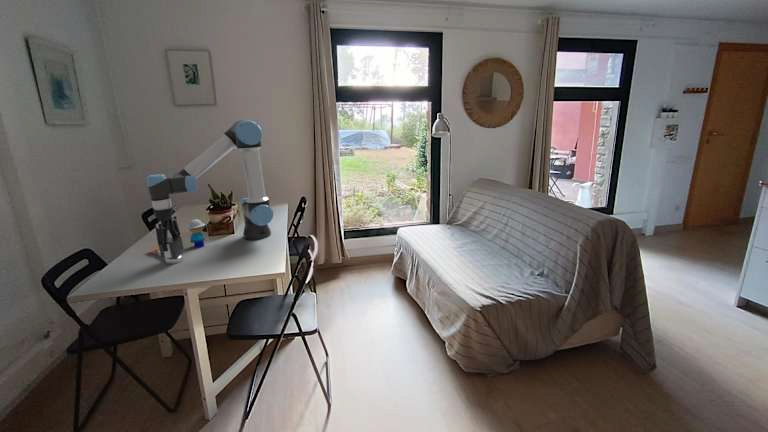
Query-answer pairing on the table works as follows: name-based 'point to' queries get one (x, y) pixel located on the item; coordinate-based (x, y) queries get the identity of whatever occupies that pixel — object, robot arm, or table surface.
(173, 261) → the ratchet
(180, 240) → the dark charcoal cube
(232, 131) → the robot arm
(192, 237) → the toy
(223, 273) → the table surface
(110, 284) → the table surface
